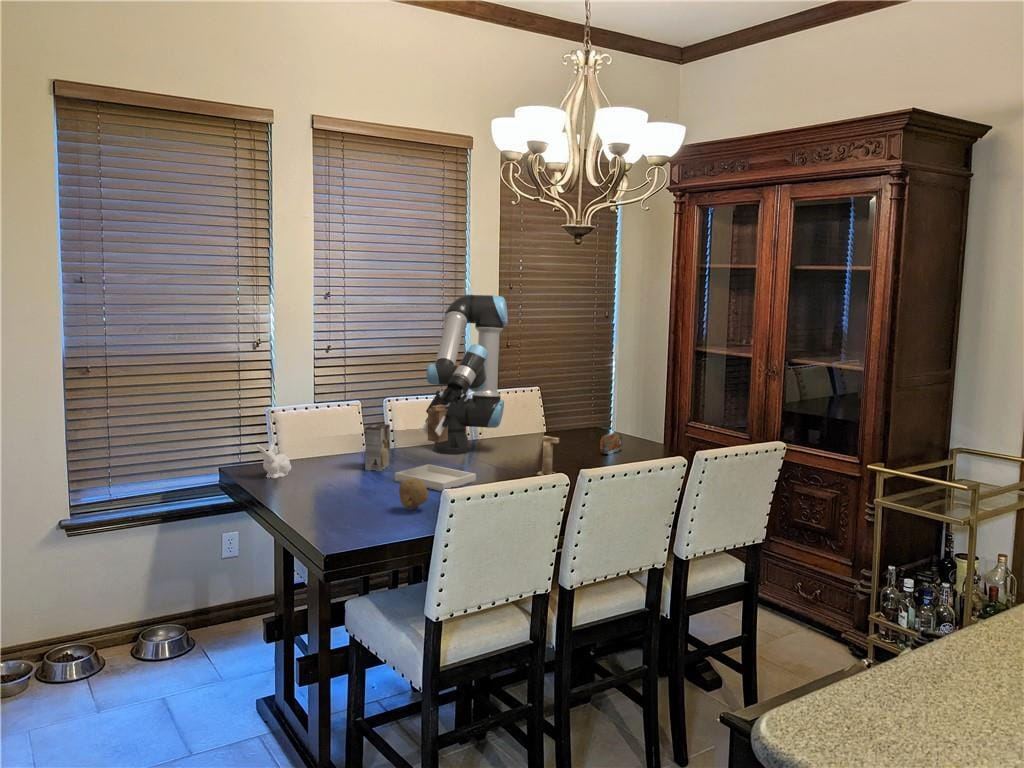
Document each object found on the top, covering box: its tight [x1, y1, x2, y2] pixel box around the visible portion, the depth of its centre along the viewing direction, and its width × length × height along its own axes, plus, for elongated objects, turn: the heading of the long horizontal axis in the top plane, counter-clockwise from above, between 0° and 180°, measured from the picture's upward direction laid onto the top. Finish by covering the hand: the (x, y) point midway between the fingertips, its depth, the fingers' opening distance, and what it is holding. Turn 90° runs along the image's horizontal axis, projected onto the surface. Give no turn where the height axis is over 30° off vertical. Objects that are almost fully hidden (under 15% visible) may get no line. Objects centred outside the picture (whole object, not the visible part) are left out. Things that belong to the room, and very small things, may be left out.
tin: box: [599, 432, 623, 453], centre depth 344 cm, size 15×3×8 cm, turn 143°
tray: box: [394, 463, 477, 493], centre depth 287 cm, size 22×18×3 cm
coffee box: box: [364, 423, 391, 472], centre depth 303 cm, size 9×6×16 cm
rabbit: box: [256, 441, 292, 479], centre depth 288 cm, size 12×9×12 cm
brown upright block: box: [427, 405, 448, 443], centre depth 284 cm, size 5×5×12 cm
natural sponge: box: [398, 478, 429, 511], centre depth 252 cm, size 9×9×10 cm
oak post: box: [537, 435, 560, 475], centre depth 300 cm, size 8×7×15 cm
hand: (431, 432), depth 282 cm, fingers closed on brown upright block, 5 cm apart
